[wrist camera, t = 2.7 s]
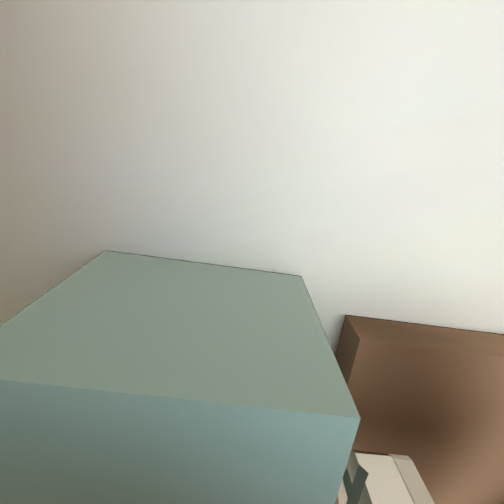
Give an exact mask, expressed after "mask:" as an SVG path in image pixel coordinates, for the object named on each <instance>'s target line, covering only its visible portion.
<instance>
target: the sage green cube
mask: <svg viewBox="0 0 504 504" xmlns="http://www.w3.org/2000/svg"><path fill="white" fill-rule="evenodd" d="M360 419H361V418H360V415H359V413H358V411H357V408H356V406H355V403H354V401H353V399H352V396H351V394H350V391H349V389H348V387H347V384H346V382H345V379H344V377H343V375H342V372H341V370H340V368H339V365H338V363H337V360H336V358H335V356H334V353H333V351H332V348H331V346H330V344H329V341H328V339H327V336H326V334H325V332H324V329H323V327H322V325H321V322H320V320H319V317H318V315H317V313H316V310H315V308H314V305H313V303H312V301H311V298H310V296H309V294H308V291H307V289H306V286H305V284H304V282H303V279H302V277H301V276H295V275H288V274H280V273H273V272H265V271H257V270H250V269H242V268H234V267H227V266H219V265H211V264H204V263H196V262H189V261H181V260H173V259H166V258H158V257H150V256H143V255H135V254H127V253H120V252H112V251H104V252H103V253H101V254H100V255H98V256H97V257H96V258H94V259H93V260H91V261H90V262H89V263H87V264H86V265H84V266H83V267H82V268H80V269H79V270H77V271H76V272H75V273H73V274H72V275H70V276H69V277H68V278H66V279H65V280H64V281H62V282H61V283H59V284H58V285H57V286H55V287H54V288H52V289H51V290H50V291H48V292H47V293H45V294H44V295H43V296H41V297H40V298H38V299H37V300H36V301H34V302H33V303H31V304H30V305H29V306H27V307H26V308H25V309H23V310H22V311H20V312H19V313H18V314H16V315H15V316H13V317H12V318H11V319H9V320H8V321H6V322H5V323H4V324H2V325H1V326H0V504H335V502H336V498H337V495H338V492H339V488H340V485H341V482H342V479H343V475H344V472H345V469H346V465H347V462H348V459H349V455H350V452H351V449H352V446H353V442H354V439H355V436H356V432H357V429H358V426H359V422H360Z"/></svg>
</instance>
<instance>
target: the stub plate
mask: <svg viewBox="0 0 504 504" xmlns="http://www.w3.org/2000/svg"><path fill="white" fill-rule="evenodd" d="M335 358H336V360H337V363H338V365H339V368H340V370H341V372H342V375H343V377H344V379H345V382H346V384H347V387H348V389H349V391H350V394H351V396H352V399H353V401H354V403H355V406H356V408H357V411H358V413H359V415H360V418H361V419H360V422H359V426H358V429H357V432H356V436H355V439H354V442H353V446H352V450H361V451H370V452H378V453H386V454H395V455H404V456H408V457H409V458H410V459H411V460H412V461H413V463H414V465H415V467H416V469H417V471H418V472H419V474H420V476H421V478H422V480H423V482H424V484H425V486H426V488H427V490H428V492H429V493H430V495H431V497H432V499H433V501H434V503H435V504H504V335H500V334H492V333H484V332H476V331H469V330H461V329H453V328H445V327H437V326H429V325H421V324H413V323H405V322H397V321H389V320H381V319H373V318H365V317H357V316H349V315H346V317H345V321H344V325H343V329H342V333H341V337H340V341H339V345H338V348H337V352H336V356H335ZM346 469H347V465H346ZM346 469H345V470H346ZM335 504H339V500H338V495H337V498H336V502H335Z"/></svg>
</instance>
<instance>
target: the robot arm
mask: <svg viewBox="0 0 504 504" xmlns="http://www.w3.org/2000/svg"><path fill="white" fill-rule="evenodd" d="M338 500H339V504H435V503H434V501H433V499H432V497H431V495H430V493H429V492H428V490H427V488H426V486H425V484H424V482H423V480H422V478H421V476H420V474H419V472H418V471H417V469H416V467H415V465H414V463H413V461H412V460H411V459H410V458H409V457H408V456H404V455H395V454H386V453H378V452H370V451H361V450H352V449H351V452H350V455H349V459H348V462H347V469H346V470H345V472H344V475H343V479H342V482H341V485H340V488H339V492H338Z"/></svg>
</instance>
